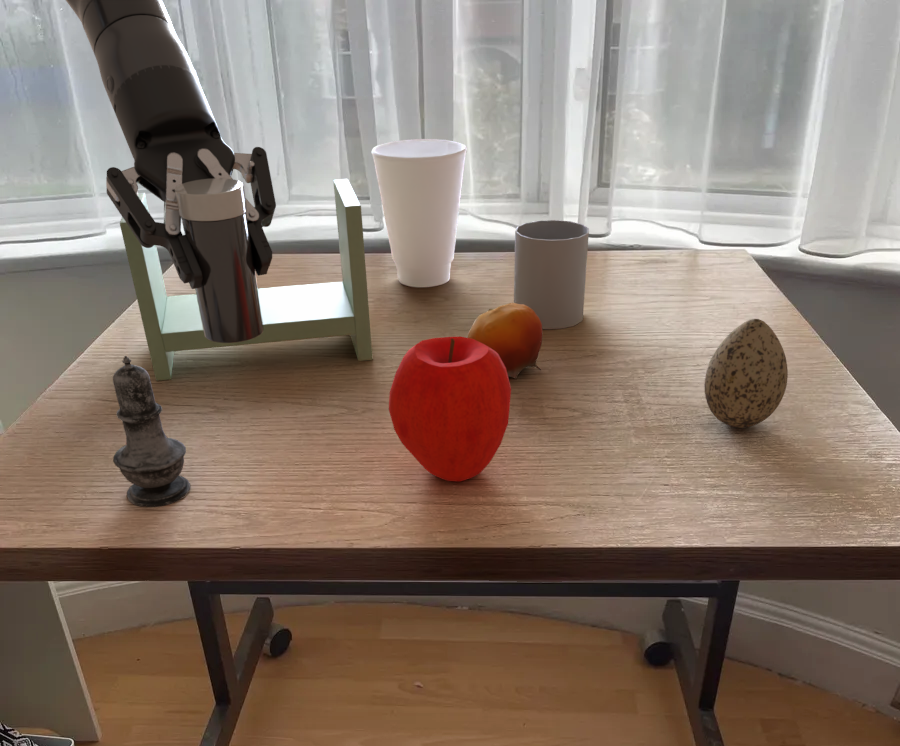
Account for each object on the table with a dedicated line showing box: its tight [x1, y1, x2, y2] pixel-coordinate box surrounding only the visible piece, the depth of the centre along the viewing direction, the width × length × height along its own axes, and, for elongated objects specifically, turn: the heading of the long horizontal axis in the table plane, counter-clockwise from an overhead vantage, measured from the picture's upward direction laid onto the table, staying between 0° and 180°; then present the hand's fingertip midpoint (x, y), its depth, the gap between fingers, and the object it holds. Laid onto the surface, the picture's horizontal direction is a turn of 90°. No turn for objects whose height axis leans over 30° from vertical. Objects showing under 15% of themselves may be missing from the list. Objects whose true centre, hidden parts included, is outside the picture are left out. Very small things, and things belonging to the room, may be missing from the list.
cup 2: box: [513, 219, 590, 330], centre depth 105 cm, size 8×8×10 cm
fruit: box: [466, 302, 543, 380], centre depth 94 cm, size 8×8×8 cm
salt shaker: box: [112, 355, 191, 508], centre depth 73 cm, size 6×6×12 cm
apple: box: [388, 335, 512, 482], centre depth 74 cm, size 10×10×12 cm
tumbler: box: [175, 178, 264, 343], centre depth 76 cm, size 5×5×12 cm
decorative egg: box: [703, 318, 789, 429], centre depth 81 cm, size 7×7×10 cm
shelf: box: [119, 178, 374, 382], centre depth 97 cm, size 23×12×16 cm, turn 101°
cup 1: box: [371, 138, 468, 288], centre depth 116 cm, size 12×12×16 cm
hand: (230, 276), depth 75 cm, fingers closed on tumbler, 5 cm apart
